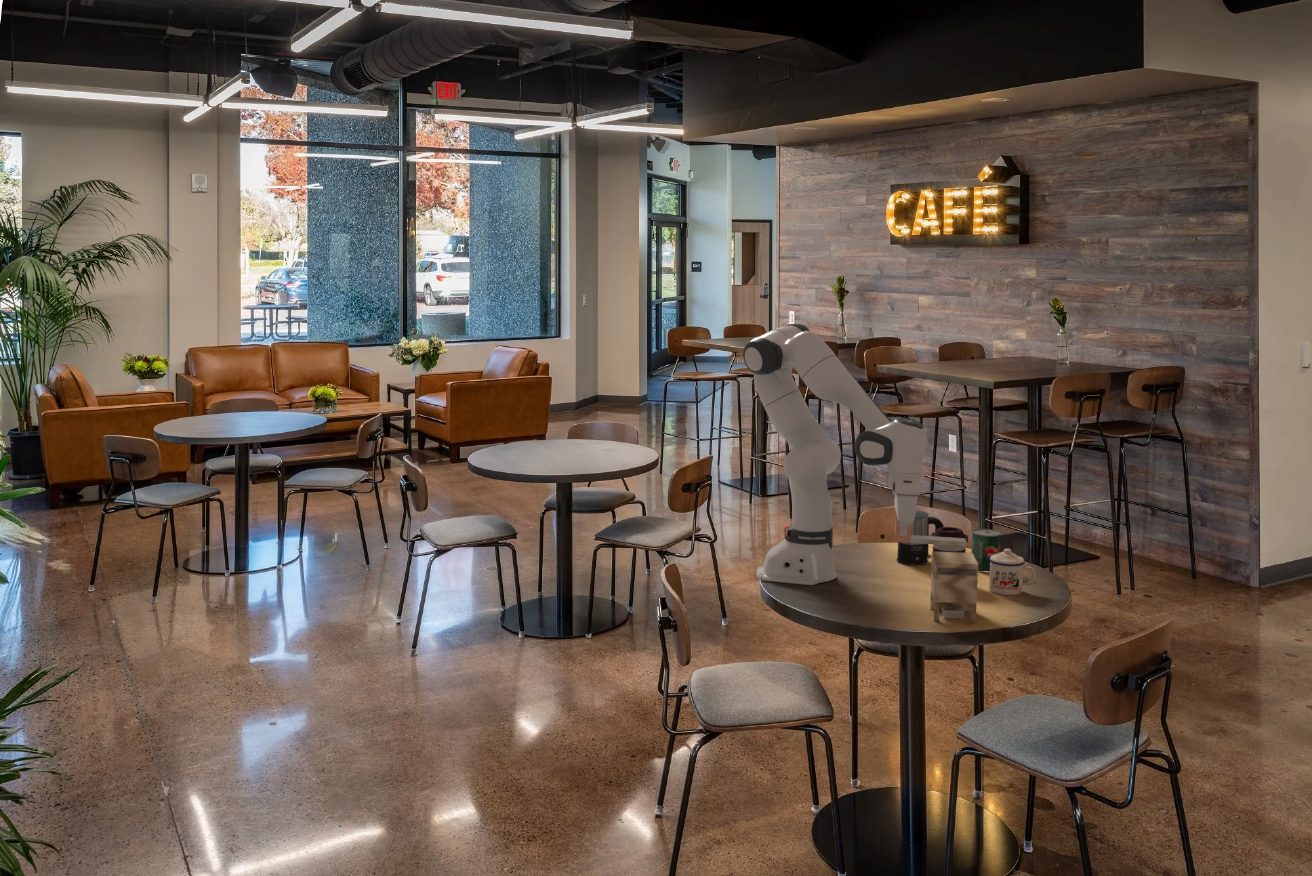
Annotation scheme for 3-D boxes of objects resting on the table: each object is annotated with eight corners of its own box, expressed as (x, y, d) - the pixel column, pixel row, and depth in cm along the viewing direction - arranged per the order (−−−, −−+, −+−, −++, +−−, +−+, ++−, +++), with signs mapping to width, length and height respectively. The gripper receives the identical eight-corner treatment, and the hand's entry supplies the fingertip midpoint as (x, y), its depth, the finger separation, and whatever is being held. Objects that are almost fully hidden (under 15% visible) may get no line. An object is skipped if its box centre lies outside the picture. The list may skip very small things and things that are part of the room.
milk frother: (908, 567, 323) (909, 517, 320) (877, 554, 337) (878, 507, 335) (947, 562, 328) (949, 513, 326) (915, 549, 343) (916, 503, 340)
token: (943, 619, 276) (944, 610, 276) (940, 613, 281) (941, 604, 281) (964, 620, 276) (964, 611, 275) (960, 613, 281) (961, 604, 280)
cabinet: (934, 621, 273) (936, 563, 271) (930, 607, 284) (932, 551, 282) (975, 623, 272) (978, 564, 269) (970, 609, 283) (972, 552, 281)
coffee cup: (967, 587, 302) (969, 534, 300) (930, 585, 304) (932, 532, 302) (964, 577, 312) (967, 526, 309) (928, 575, 314) (930, 524, 311)
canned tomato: (995, 574, 315) (997, 536, 314) (967, 570, 319) (969, 533, 317) (1001, 567, 322) (1003, 530, 320) (974, 564, 326) (976, 527, 324)
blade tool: (894, 542, 286) (896, 523, 285) (894, 538, 289) (895, 519, 288) (966, 546, 283) (967, 527, 282) (964, 542, 287) (965, 524, 286)
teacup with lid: (987, 594, 296) (989, 552, 294) (988, 585, 305) (990, 544, 303) (1035, 598, 292) (1037, 555, 291) (1034, 588, 301) (1036, 547, 299)
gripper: (890, 472, 295) (887, 523, 297) (895, 489, 275) (892, 542, 277) (914, 474, 294) (911, 524, 296) (921, 490, 274) (917, 544, 277)
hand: (902, 533), depth 287 cm, fingers closed on blade tool, 3 cm apart
